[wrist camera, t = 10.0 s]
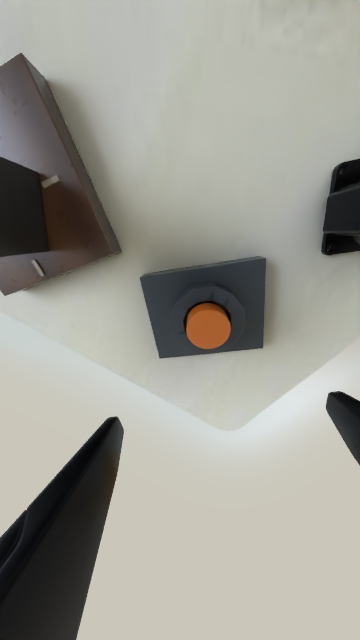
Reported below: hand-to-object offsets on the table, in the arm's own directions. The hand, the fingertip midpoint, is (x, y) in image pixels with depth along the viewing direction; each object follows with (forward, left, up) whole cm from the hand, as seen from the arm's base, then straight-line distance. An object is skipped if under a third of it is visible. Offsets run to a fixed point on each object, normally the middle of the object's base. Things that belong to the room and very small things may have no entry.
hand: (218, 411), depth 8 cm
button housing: (0, 0, -13) cm, 13 cm away
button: (0, 0, -9) cm, 9 cm away
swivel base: (+14, -11, -13) cm, 22 cm away
